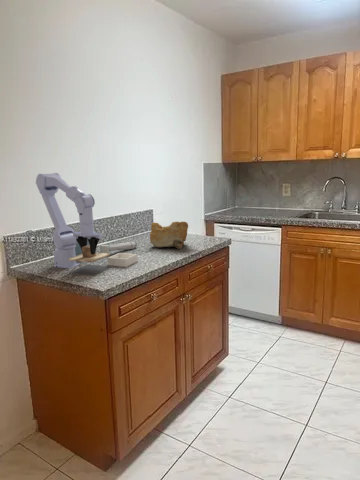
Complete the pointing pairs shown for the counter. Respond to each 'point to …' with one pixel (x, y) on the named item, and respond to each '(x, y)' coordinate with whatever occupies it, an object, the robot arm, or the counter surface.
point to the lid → (88, 255)
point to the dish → (122, 259)
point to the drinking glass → (79, 248)
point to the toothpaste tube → (117, 247)
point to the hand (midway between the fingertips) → (89, 253)
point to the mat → (90, 270)
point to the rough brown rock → (169, 235)
